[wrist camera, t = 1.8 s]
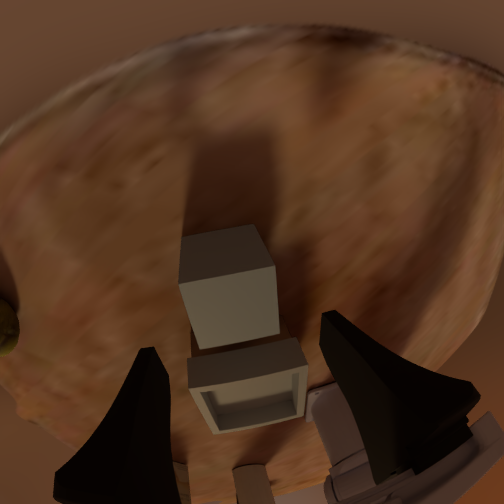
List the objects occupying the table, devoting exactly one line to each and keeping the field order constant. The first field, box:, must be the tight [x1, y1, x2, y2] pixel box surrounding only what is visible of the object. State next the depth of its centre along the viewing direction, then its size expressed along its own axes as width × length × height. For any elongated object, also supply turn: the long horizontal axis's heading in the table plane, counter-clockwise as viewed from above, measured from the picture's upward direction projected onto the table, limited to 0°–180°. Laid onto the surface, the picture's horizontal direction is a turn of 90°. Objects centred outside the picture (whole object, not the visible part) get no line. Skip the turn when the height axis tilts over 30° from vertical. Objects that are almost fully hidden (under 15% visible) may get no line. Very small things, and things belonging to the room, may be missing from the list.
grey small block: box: [178, 224, 280, 349], centre depth 16 cm, size 4×4×5 cm
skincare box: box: [173, 462, 191, 504], centre depth 27 cm, size 6×4×12 cm
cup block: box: [187, 337, 308, 434], centre depth 19 cm, size 8×8×3 cm
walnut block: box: [191, 315, 291, 357], centre depth 21 cm, size 7×7×3 cm
